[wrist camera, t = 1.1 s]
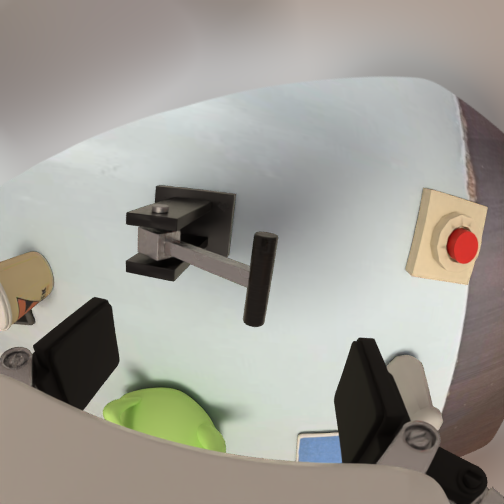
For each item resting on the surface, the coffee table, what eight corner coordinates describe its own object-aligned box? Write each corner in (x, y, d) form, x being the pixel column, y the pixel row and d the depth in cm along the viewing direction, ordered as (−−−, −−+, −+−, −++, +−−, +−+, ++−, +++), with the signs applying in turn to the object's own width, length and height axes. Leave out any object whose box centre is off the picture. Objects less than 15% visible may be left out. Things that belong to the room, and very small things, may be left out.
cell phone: (36, 323, 42) (33, 325, 41) (2, 321, 44) (0, 322, 43) (22, 286, 40) (19, 288, 39) (-10, 289, 42) (-12, 290, 41)
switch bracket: (236, 193, 32) (208, 209, 21) (229, 254, 34) (201, 298, 23) (160, 185, 32) (103, 197, 21) (156, 243, 35) (104, 278, 23)
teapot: (118, 416, 46) (86, 469, 32) (138, 351, 40) (91, 415, 26) (206, 458, 46) (189, 516, 33) (251, 405, 40) (237, 483, 27)
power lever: (286, 234, 18) (266, 240, 16) (271, 319, 20) (252, 332, 18) (161, 201, 24) (138, 203, 23) (158, 267, 26) (137, 272, 24)
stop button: (450, 225, 26) (458, 228, 25) (473, 231, 26) (481, 235, 24) (443, 256, 27) (450, 261, 26) (465, 261, 27) (473, 266, 26)
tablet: (295, 467, 45) (295, 472, 43) (297, 431, 41) (297, 437, 40) (391, 457, 42) (392, 462, 41) (408, 419, 39) (410, 424, 38)
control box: (423, 187, 29) (439, 191, 25) (478, 204, 28) (496, 209, 25) (404, 269, 32) (417, 282, 28) (459, 278, 31) (474, 290, 28)
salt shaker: (407, 341, 35) (442, 406, 22) (423, 363, 35) (456, 424, 23) (373, 367, 36) (397, 436, 24) (392, 386, 37) (415, 451, 25)
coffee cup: (41, 307, 41) (-4, 340, 29) (15, 262, 39) (-33, 286, 27) (66, 286, 38) (14, 321, 27) (37, 235, 37) (-19, 258, 25)
